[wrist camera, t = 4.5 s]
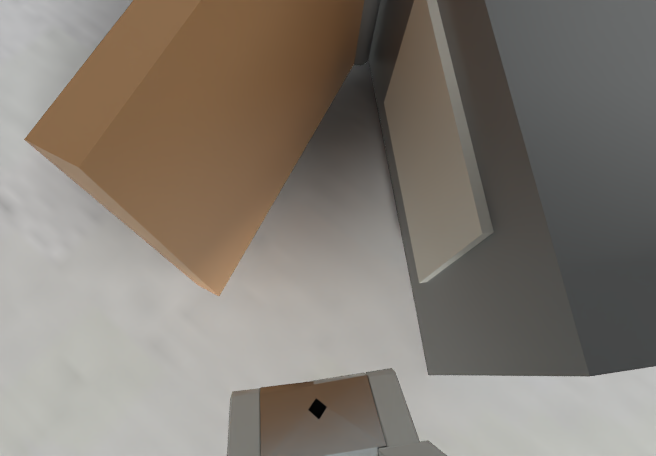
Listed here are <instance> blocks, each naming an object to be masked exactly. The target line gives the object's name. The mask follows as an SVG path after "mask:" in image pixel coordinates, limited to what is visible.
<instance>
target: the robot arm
mask: <svg viewBox="0 0 656 456" xmlns="http://www.w3.org/2000/svg"><path fill="white" fill-rule="evenodd" d="M227 456H447V455H445V454H444V453H443V452H442V451H441V450H439V449H438V448H437V447H436V446H434V445H433V444H432V443H431V442H429V441H421V442H420V441H419V438H418V435H417V432H416V429H415V427H414V424H413V421H412V418H411V415H410V412H409V410H408V407H407V404H406V401H405V398H404V395H403V393H402V390H401V387H400V384H399V381H398V378H397V376H396V373H395V371H394V370H393V369H392V368H390V369H384V370H377V371H371V372H366V374H365V373H358V374H352V375H345V376H339V377H333V378H327V379H320V380H314V381H311V382H303V383H295V384H286V385H278V386H270V387H262V388H258V389H250V390H242V391H234V392H232V395H231V398H230V411H229V429H228V447H227Z"/></svg>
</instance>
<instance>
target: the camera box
mask: <svg viewBox="0 0 656 456" xmlns="http://www.w3.org/2000/svg"><path fill="white" fill-rule="evenodd" d="M368 60H369V65H370V71H371V76H372V81H373V86H374V92H375V97H376V102H377V107H378V113H379V118H380V123H381V128H382V133H383V139H384V144H385V149H386V154H387V160H388V165H389V170H390V175H391V181H392V186H393V191H394V196H395V202H396V207H397V212H398V217H399V223H400V228H401V233H402V238H403V244H404V249H405V254H406V259H407V265H408V270H409V275H410V280H411V286H412V291H413V296H414V301H415V307H416V312H417V317H418V322H419V328H420V333H421V338H422V343H423V349H424V354H425V359H426V364H427V370H428V375H499V376H595V375H601V374H608V373H614V372H620V371H627V370H633V369H640V368H646V367H653V366H656V0H381V1H380V6H379V11H378V15H377V20H376V25H375V30H374V35H373V40H372V44H371V49H370V54H369V59H368Z"/></svg>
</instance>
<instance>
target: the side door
mask: <svg viewBox="0 0 656 456" xmlns="http://www.w3.org/2000/svg"><path fill="white" fill-rule="evenodd" d="M380 1H381V0H133V2H132V3H131V4H130V6H129V7H128V8H127V9H126V11H125V12H124V13H123V14H122V16H121V17H120V18H119V20H118V21H117V22H116V23H115V25H114V26H113V27H112V28H111V30H110V31H109V32H108V34H107V35H106V36H105V37H104V39H103V40H102V41H101V42H100V44H99V45H98V46H97V48H96V49H95V50H94V51H93V53H92V54H91V55H90V56H89V58H88V59H87V60H86V62H85V63H84V64H83V65H82V67H81V68H80V69H79V70H78V72H77V73H76V74H75V76H74V77H73V78H72V79H71V81H70V82H69V83H68V84H67V86H66V87H65V88H64V90H63V91H62V92H61V93H60V95H59V96H58V97H57V98H56V100H55V101H54V102H53V104H52V105H51V106H50V107H49V109H48V110H47V111H46V112H45V114H44V115H43V116H42V118H41V119H40V120H39V121H38V123H37V124H36V125H35V126H34V128H33V129H32V130H31V132H30V133H29V134H28V135H27V137H26V138H25V139H24V140H25V141H27V142H28V143H29V144H30V145H31V146H33V147H34V148H35V149H36V150H37V151H39V152H40V153H41V154H42V155H43V156H45V157H46V158H47V159H48V160H49V161H50V162H52V163H53V164H54V165H55V166H56V167H58V168H59V169H60V170H61V171H62V172H64V173H65V174H66V175H67V176H68V177H70V178H71V179H72V180H73V181H74V182H75V183H77V184H78V185H79V186H80V187H81V188H83V189H84V190H85V191H86V192H87V193H89V194H90V195H91V196H92V197H93V198H95V199H96V200H97V201H98V202H99V203H101V204H102V205H103V206H104V207H105V208H106V209H108V210H109V211H110V212H111V213H112V214H114V215H115V216H116V217H117V218H118V219H120V220H121V221H122V222H123V223H124V224H126V225H127V226H128V227H129V228H130V229H131V230H133V231H134V232H135V233H136V234H137V235H139V236H140V237H141V238H142V239H143V240H145V241H146V242H147V243H148V244H149V245H151V246H152V247H153V248H154V249H155V250H157V251H158V252H159V253H160V254H161V255H162V256H164V257H165V258H166V259H167V260H168V261H170V262H171V263H172V264H173V265H174V266H176V267H177V268H178V269H179V270H180V271H182V272H183V273H184V274H185V275H186V276H188V277H189V278H190V279H191V280H192V281H193V282H195V283H196V284H197V285H198V286H200V287H202V288H204V289H206V290H208V291H210V292H212V293H214V294H215V295H217V296H220V294H221V292H222V291H223V289H224V287H225V285H226V284H227V282H228V280H229V279H230V277H231V275H232V273H233V272H234V270H235V268H236V267H237V265H238V263H239V261H240V260H241V258H242V256H243V254H244V253H245V251H246V249H247V248H248V246H249V244H250V242H251V241H252V239H253V237H254V236H255V234H256V232H257V230H258V229H259V227H260V225H261V223H262V222H263V220H264V218H265V217H266V215H267V213H268V211H269V210H270V208H271V206H272V205H273V203H274V201H275V199H276V198H277V196H278V194H279V192H280V191H281V189H282V187H283V186H284V184H285V182H286V180H287V179H288V177H289V175H290V174H291V172H292V170H293V168H294V167H295V165H296V163H297V161H298V160H299V158H300V156H301V155H302V153H303V151H304V149H305V148H306V146H307V144H308V143H309V141H310V139H311V137H312V136H313V134H314V132H315V131H316V129H317V127H318V125H319V124H320V122H321V120H322V118H323V117H324V115H325V113H326V112H327V110H328V108H329V106H330V105H331V103H332V101H333V100H334V98H335V96H336V94H337V93H338V91H339V89H340V87H341V86H342V84H343V82H344V81H345V79H346V77H347V75H348V74H349V72H350V70H351V69H352V67H353V65H364V64H365V63H366V62H367V61H368V59H369V54H370V49H371V44H372V40H373V35H374V30H375V25H376V20H377V15H378V11H379V6H380Z"/></svg>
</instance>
